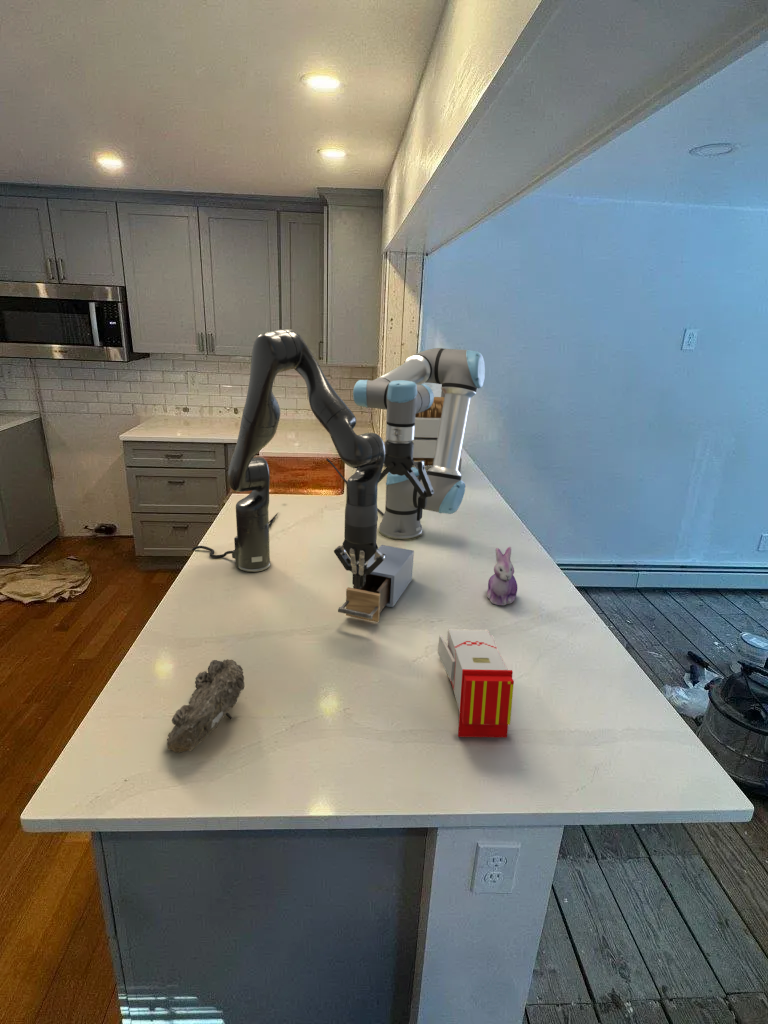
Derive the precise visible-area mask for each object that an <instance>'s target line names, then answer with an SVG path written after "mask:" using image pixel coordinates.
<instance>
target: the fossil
mask: <svg viewBox="0 0 768 1024" xmlns="http://www.w3.org/2000/svg"><path fill="white" fill-rule="evenodd" d="M243 670H244V669H243V667H242V665H240V664H237V662H236V661H235V660H234V659H232V658H231V659H227V658H226V659H224V660H223V661H222V660H217V659H212V660H211V661H210V663H209V665H208V666H207V671H201V672H199V673H198V674H197V675H196V676H195V680H194V684H195V685H194V687H195V689H194V690H193V693H192V694H191V697H190V698H189V700H188V704H184V705H182V706H181V707H180V709H177V710H176V711H175V713H174V715H173V716H172V718H171V723H172V724H173V727H172V730H171V731H170V732H168V734H167V738H166V741H167V742H166V745H167V749H168V750H169V751H173V752H174V753H176V754H178V753H182V752H188V751H189V752H192V751H193V750H195V748H196V747H197V746H199V744H200V743H201V742H203V741H204V740H205V739H206V738H207V737H208V736H209V735H210V734H211V733H212V732H214V730H215V729H217V727H218V726H219V724H220V722H221V721H222V720H223V719H224V718H225V716H226V717H227V719H229V720H233V717H232V715H230V714H229V710H230V709H231V708H234V706H235V704H236V703H237V702H238V699H239V697H240V695H241V693H242V691H243V690H245V689H244V688H245V675H244V671H243Z"/></svg>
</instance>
